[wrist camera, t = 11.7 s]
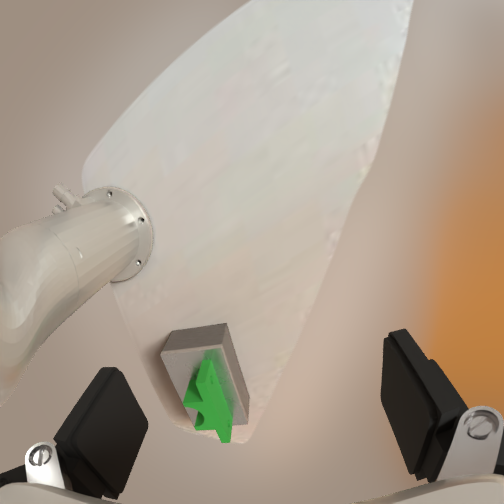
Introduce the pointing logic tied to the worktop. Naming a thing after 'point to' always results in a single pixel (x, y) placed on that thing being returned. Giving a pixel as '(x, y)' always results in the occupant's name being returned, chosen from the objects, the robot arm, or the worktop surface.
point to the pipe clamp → (209, 402)
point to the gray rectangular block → (223, 359)
